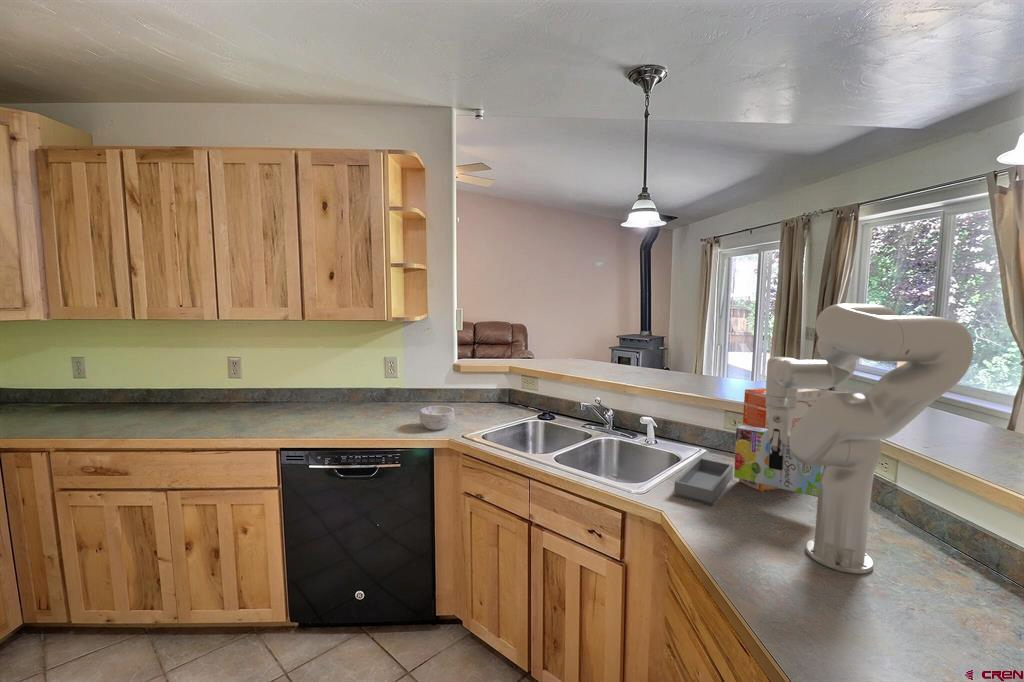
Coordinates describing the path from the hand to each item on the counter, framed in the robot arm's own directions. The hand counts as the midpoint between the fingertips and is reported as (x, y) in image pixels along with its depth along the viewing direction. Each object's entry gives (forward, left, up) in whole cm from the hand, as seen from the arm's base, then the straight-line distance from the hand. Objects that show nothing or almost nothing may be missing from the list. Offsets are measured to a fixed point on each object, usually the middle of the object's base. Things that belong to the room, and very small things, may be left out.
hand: (777, 465), depth 129 cm
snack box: (0, 0, -6) cm, 6 cm away
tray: (+3, +19, -12) cm, 23 cm away
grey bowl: (-5, +130, -13) cm, 131 cm away
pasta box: (+22, +2, -13) cm, 25 cm away
